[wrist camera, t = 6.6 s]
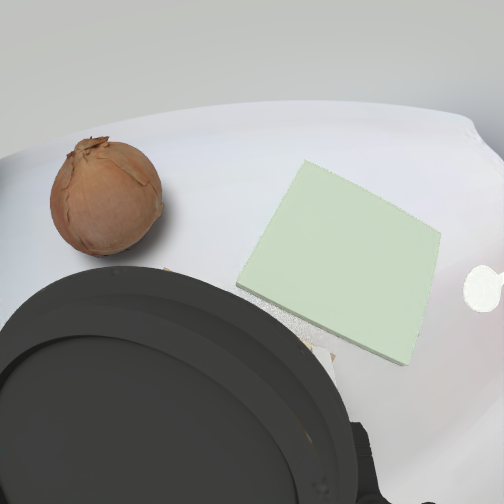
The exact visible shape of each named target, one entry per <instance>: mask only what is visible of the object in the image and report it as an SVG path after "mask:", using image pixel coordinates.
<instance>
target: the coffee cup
mask: <svg viewBox="0 0 504 504" xmlns="http://www.w3.org/2000/svg"><path fill="white" fill-rule="evenodd" d="M357 489H358V464H357V455H356V449H355V444H354V439H353V434H352V429H351V424H350V421H349V417H348V414H347V411H346V408H345V406H344V403H343V401H342V399H341V396H340V394H339V392H338V390H337V388H336V386H335V385H334V383H333V381H332V379H331V378H330V376H329V375H328V373H327V371H326V370H325V368H324V367H323V366H322V364H321V363H320V362H319V360H318V359H317V358H316V356H315V355H314V354H313V353H312V352H311V351H310V350H309V348H308V347H307V346H306V345H305V344H304V343H303V342H302V341H301V340H300V339H299V338H298V337H297V336H296V335H295V334H294V333H293V332H291V331H290V330H289V329H288V328H287V327H285V326H284V325H283V324H282V323H281V322H279V321H278V320H276V319H275V318H274V317H272V316H271V315H270V314H268V313H267V312H265V311H263V310H262V309H260V308H259V307H257V306H255V305H254V304H252V303H250V302H248V301H246V300H244V299H243V298H240V297H238V296H236V295H234V294H232V293H230V292H227V291H225V290H222V289H220V288H217V287H215V286H213V285H211V284H208V283H206V282H203V281H201V280H198V279H195V278H192V277H189V276H186V275H182V274H179V273H175V272H171V271H166V270H161V269H155V268H148V267H137V266H114V267H103V268H96V269H91V270H86V271H82V272H79V273H75V274H72V275H70V276H67V277H64V278H62V279H60V280H57V281H55V282H53V283H52V284H50V285H48V286H46V287H45V288H43V289H41V290H40V291H38V292H37V293H35V294H34V295H33V296H32V297H30V298H29V299H28V300H27V301H26V302H24V303H23V304H22V305H21V306H20V307H19V308H18V309H17V310H16V311H15V313H14V314H13V315H12V316H11V317H10V318H9V320H8V321H7V322H6V324H5V325H4V327H3V328H2V330H1V331H0V504H355V503H356V497H357Z"/></svg>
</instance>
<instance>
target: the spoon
mask: <svg viewBox="0 0 504 504" xmlns="http://www.w3.org/2000/svg"><path fill="white" fill-rule="evenodd" d="M502 285H504V272H502V273H501V274H496V273H495V271H493V270H492V269H491V268H489V267H488V266H485V265H483V266H482V265H481V266H477V267H475V268H474V269H472V270H471V271H470V272H469V274H468V275H467V277H466V279H465V282H464V285H463V298H464V301H465V303H466V304H467V306H468V307H469V308H471V309H472V310H474V311H476V312H479V313H480V312H481V313H485V312H486V313H487V312H490V311H491V310H493V309H494V308H496V306H497V305H498V302H499V300H500V294H501V287H502Z"/></svg>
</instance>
